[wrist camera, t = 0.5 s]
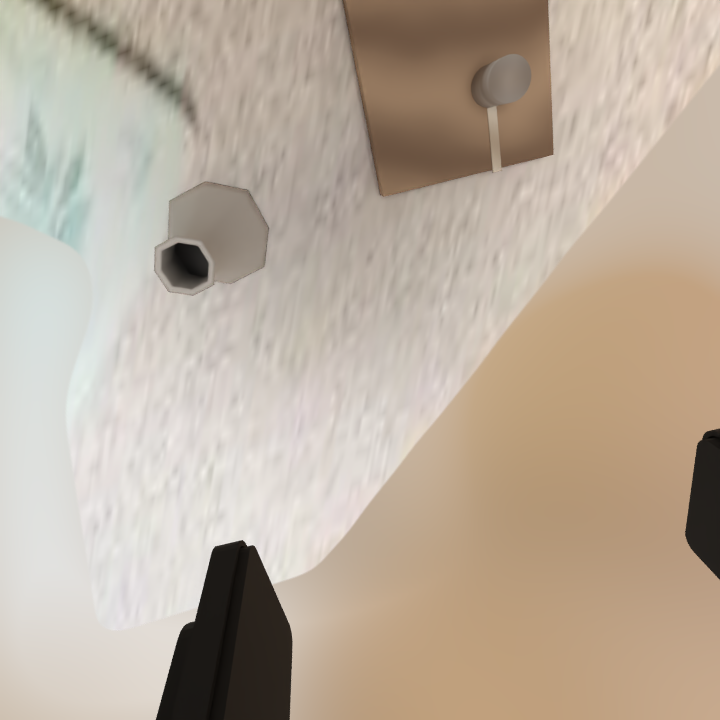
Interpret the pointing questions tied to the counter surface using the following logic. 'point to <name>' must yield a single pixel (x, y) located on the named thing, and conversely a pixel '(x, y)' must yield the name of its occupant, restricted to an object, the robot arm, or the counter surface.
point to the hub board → (451, 86)
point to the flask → (211, 239)
